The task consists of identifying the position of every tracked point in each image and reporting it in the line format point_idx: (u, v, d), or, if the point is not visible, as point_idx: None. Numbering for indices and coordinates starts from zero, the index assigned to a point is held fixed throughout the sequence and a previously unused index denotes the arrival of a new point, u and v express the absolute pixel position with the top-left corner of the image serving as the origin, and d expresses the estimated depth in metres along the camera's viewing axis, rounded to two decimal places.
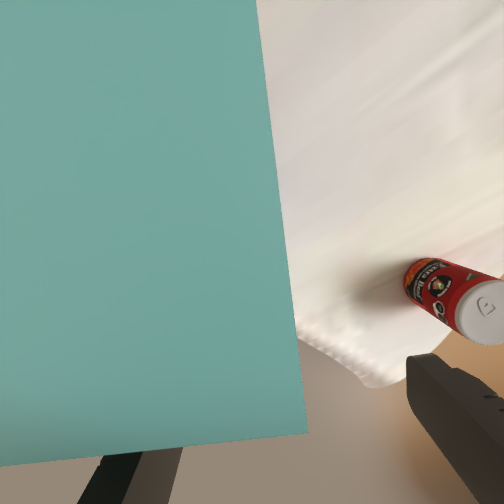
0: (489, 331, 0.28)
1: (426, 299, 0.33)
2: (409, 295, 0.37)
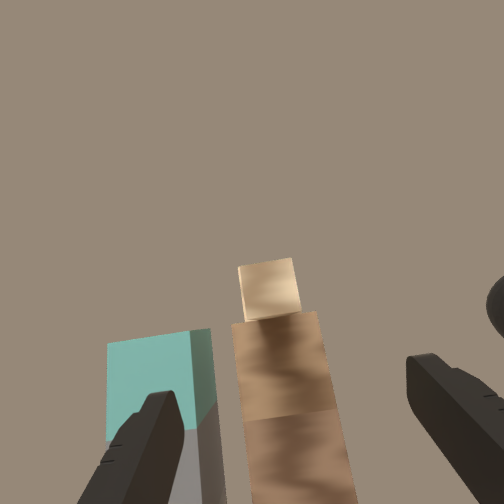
0: None
1: None
2: None
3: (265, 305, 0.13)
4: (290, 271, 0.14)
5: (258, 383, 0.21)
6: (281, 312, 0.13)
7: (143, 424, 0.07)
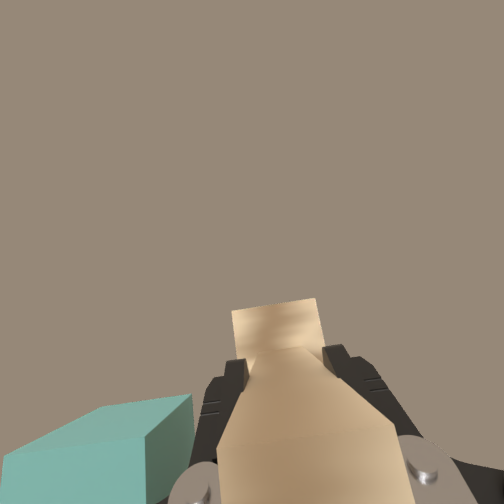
0: None
1: None
2: None
3: None
4: (396, 482, 0.04)
5: None
6: None
7: (233, 383, 0.08)
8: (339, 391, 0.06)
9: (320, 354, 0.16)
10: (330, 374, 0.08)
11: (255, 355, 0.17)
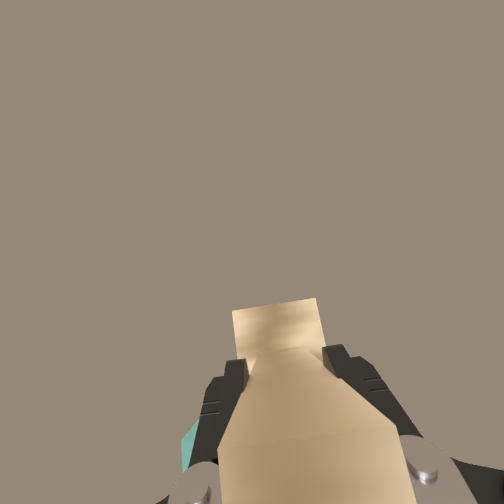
0: None
1: None
2: None
3: None
4: (397, 483, 0.04)
5: None
6: None
7: (233, 383, 0.08)
8: (340, 391, 0.06)
9: (321, 354, 0.16)
10: (331, 374, 0.08)
11: (255, 355, 0.17)
